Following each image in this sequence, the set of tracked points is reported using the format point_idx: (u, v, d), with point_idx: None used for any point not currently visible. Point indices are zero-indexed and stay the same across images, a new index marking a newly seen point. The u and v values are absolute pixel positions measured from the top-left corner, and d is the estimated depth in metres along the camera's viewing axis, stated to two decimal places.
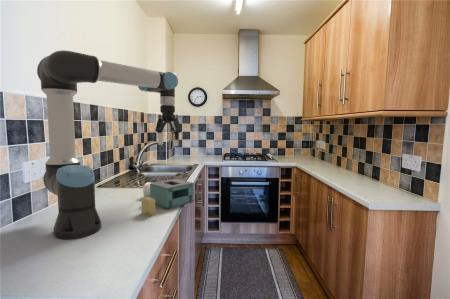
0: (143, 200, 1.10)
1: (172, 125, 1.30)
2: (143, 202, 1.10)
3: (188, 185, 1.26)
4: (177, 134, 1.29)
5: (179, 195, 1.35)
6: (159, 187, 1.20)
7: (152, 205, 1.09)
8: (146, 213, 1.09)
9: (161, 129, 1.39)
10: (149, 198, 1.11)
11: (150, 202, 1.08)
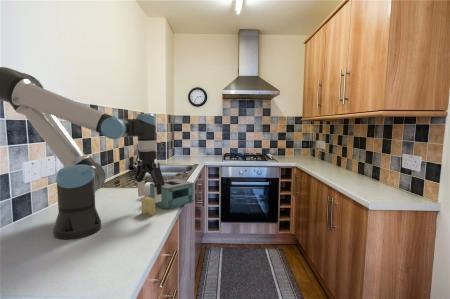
0: (143, 200, 1.10)
1: (153, 176, 1.05)
2: (143, 202, 1.10)
3: (188, 185, 1.26)
4: (159, 188, 1.04)
5: (179, 195, 1.35)
6: None
7: (152, 205, 1.09)
8: (146, 213, 1.09)
9: (141, 177, 1.14)
10: (149, 198, 1.11)
11: (150, 202, 1.08)
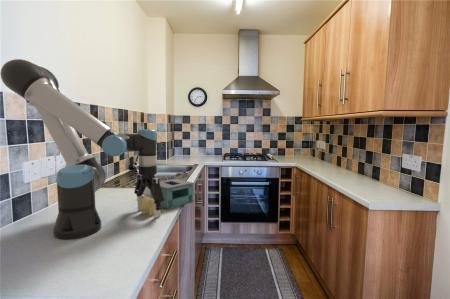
0: (143, 200, 1.10)
1: (152, 192, 1.06)
2: (143, 202, 1.10)
3: (188, 185, 1.26)
4: (158, 203, 1.05)
5: (179, 195, 1.35)
6: None
7: (152, 205, 1.09)
8: (146, 213, 1.09)
9: (141, 192, 1.14)
10: (149, 198, 1.11)
11: (150, 202, 1.08)
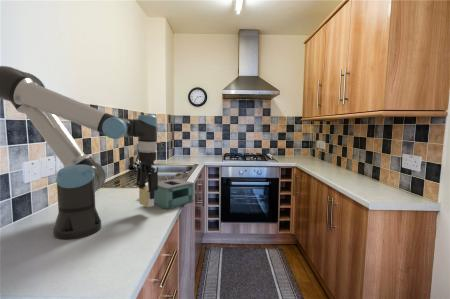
0: (142, 191, 1.10)
1: (149, 180, 1.06)
2: (142, 193, 1.10)
3: (188, 185, 1.26)
4: (152, 192, 1.07)
5: (179, 195, 1.35)
6: (159, 187, 1.20)
7: None
8: (144, 204, 1.09)
9: (143, 182, 1.12)
10: (148, 188, 1.11)
11: None
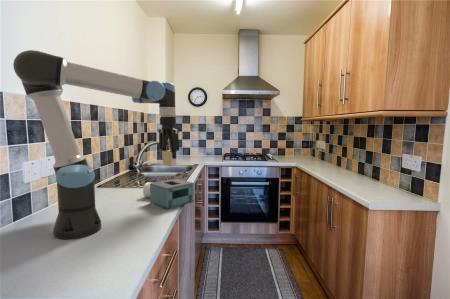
0: (164, 152, 1.22)
1: (171, 142, 1.18)
2: (164, 154, 1.22)
3: (188, 185, 1.26)
4: (174, 152, 1.19)
5: (179, 195, 1.35)
6: (159, 187, 1.20)
7: None
8: (168, 164, 1.21)
9: (165, 145, 1.24)
10: (170, 150, 1.23)
11: None
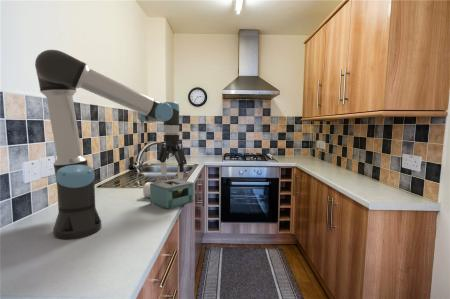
0: None
1: (176, 156, 1.21)
2: None
3: (188, 185, 1.26)
4: (182, 166, 1.20)
5: None
6: (159, 187, 1.20)
7: (179, 193, 1.25)
8: (172, 198, 1.25)
9: (164, 158, 1.29)
10: None
11: (179, 190, 1.24)
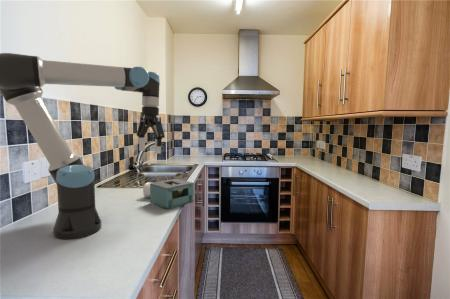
0: None
1: (154, 129, 1.14)
2: None
3: (188, 185, 1.26)
4: (159, 140, 1.13)
5: None
6: (159, 187, 1.20)
7: (179, 193, 1.25)
8: (172, 198, 1.25)
9: (143, 133, 1.22)
10: None
11: (179, 190, 1.24)
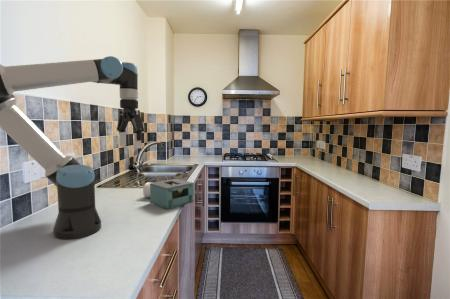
0: None
1: (133, 123, 1.09)
2: None
3: (188, 185, 1.26)
4: (139, 134, 1.08)
5: None
6: (159, 187, 1.20)
7: (179, 193, 1.25)
8: (172, 198, 1.25)
9: (123, 128, 1.17)
10: None
11: (179, 190, 1.24)
